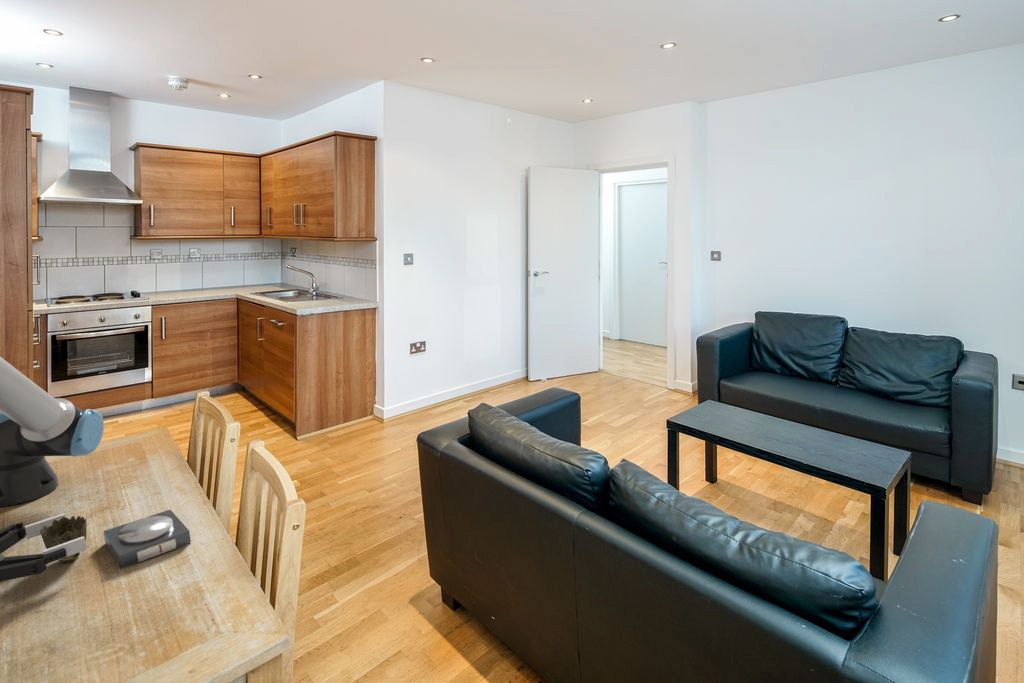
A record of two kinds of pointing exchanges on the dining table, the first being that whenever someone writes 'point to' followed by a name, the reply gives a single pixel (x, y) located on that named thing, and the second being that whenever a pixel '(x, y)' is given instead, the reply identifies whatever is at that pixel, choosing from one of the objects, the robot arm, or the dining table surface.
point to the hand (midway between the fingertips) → (75, 530)
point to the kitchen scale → (146, 538)
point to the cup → (64, 534)
